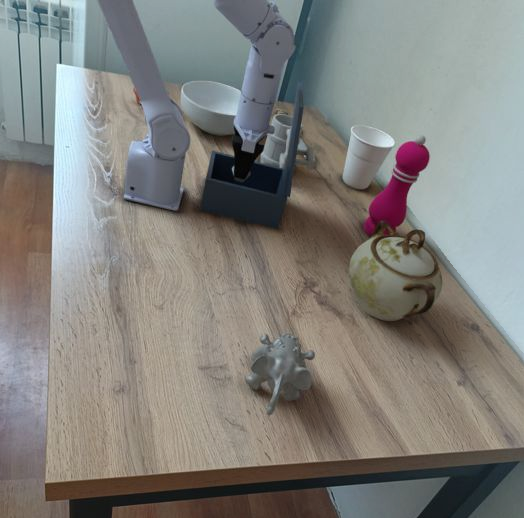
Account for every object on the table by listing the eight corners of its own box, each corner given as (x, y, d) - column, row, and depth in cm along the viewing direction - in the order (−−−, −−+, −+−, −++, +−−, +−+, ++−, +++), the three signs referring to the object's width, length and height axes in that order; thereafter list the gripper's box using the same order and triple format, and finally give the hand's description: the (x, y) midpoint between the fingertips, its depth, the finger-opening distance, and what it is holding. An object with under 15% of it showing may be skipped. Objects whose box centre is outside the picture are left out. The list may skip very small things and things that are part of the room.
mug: (289, 159, 121) (305, 106, 113) (298, 186, 113) (316, 131, 105) (256, 153, 119) (270, 98, 111) (263, 180, 111) (278, 123, 103)
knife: (325, 166, 121) (305, 161, 119) (321, 172, 122) (302, 167, 120) (292, 111, 138) (275, 106, 136) (290, 117, 139) (273, 112, 137)
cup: (327, 180, 118) (344, 132, 111) (342, 167, 125) (360, 120, 118) (367, 200, 116) (387, 152, 109) (381, 185, 123) (401, 139, 116)
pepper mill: (394, 246, 105) (443, 149, 91) (359, 234, 105) (403, 136, 91) (395, 228, 110) (441, 134, 97) (362, 217, 110) (403, 121, 96)
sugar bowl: (444, 346, 86) (494, 272, 76) (363, 348, 81) (405, 269, 71) (393, 269, 99) (430, 197, 89) (320, 266, 94) (350, 189, 83)
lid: (299, 106, 84) (327, 110, 84) (297, 81, 92) (323, 84, 92) (286, 196, 94) (311, 199, 94) (285, 166, 103) (309, 169, 103)
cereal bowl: (164, 126, 117) (168, 93, 112) (193, 104, 129) (198, 73, 125) (237, 153, 116) (244, 121, 112) (259, 129, 129) (266, 99, 124)
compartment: (199, 211, 97) (205, 179, 92) (206, 180, 105) (211, 150, 101) (278, 229, 99) (287, 199, 95) (278, 198, 107) (287, 169, 103)
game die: (252, 181, 99) (256, 166, 97) (238, 185, 97) (242, 170, 95) (239, 172, 100) (243, 157, 98) (225, 176, 98) (228, 160, 96)
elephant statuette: (299, 362, 75) (316, 323, 70) (317, 433, 67) (337, 394, 62) (235, 358, 73) (248, 316, 68) (245, 431, 65) (260, 390, 59)
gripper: (281, 120, 84) (260, 197, 93) (281, 87, 94) (262, 160, 103) (237, 108, 83) (220, 187, 92) (242, 76, 93) (226, 150, 102)
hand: (240, 172), depth 97 cm, fingers closed on game die, 3 cm apart
